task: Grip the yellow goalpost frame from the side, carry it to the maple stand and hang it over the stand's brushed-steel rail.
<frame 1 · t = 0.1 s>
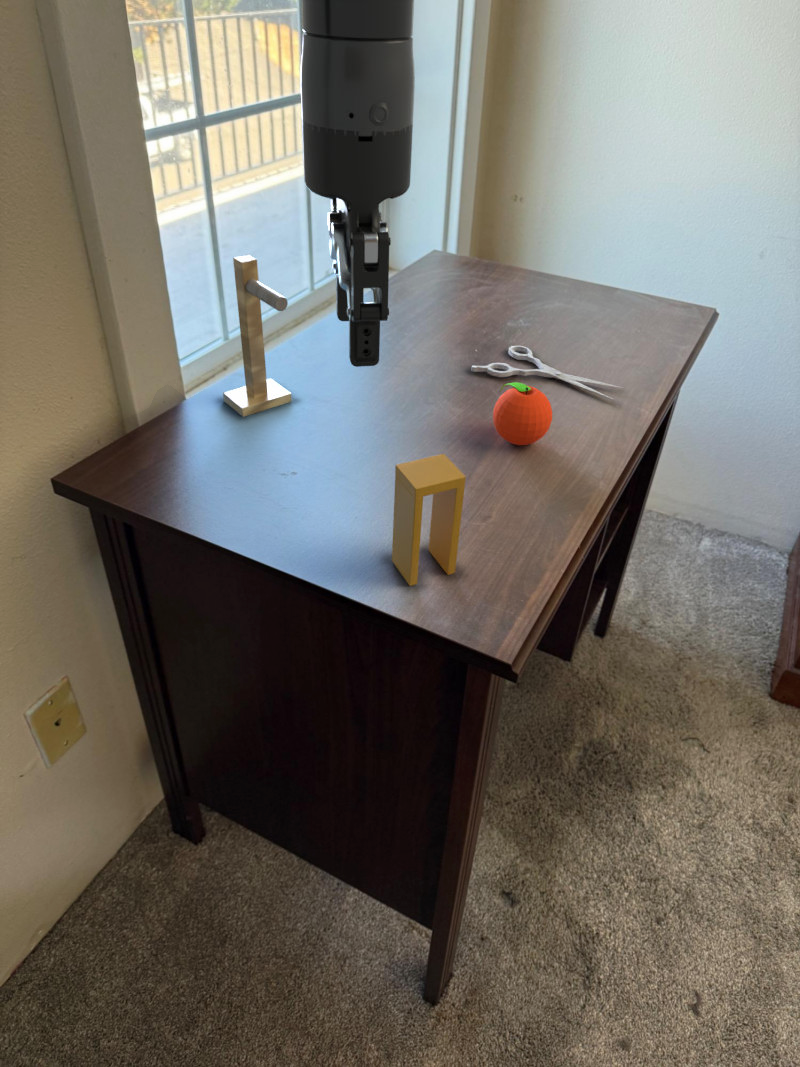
hand: (356, 340, 60), 21 cm above the table, tool pointing down, fingers open, 8 cm apart
rack: (276, 415, 92), on the table
scissors: (551, 378, 103), on the table
yellow goalpost frame: (423, 566, 71), on the table
clementine: (515, 440, 90), on the table
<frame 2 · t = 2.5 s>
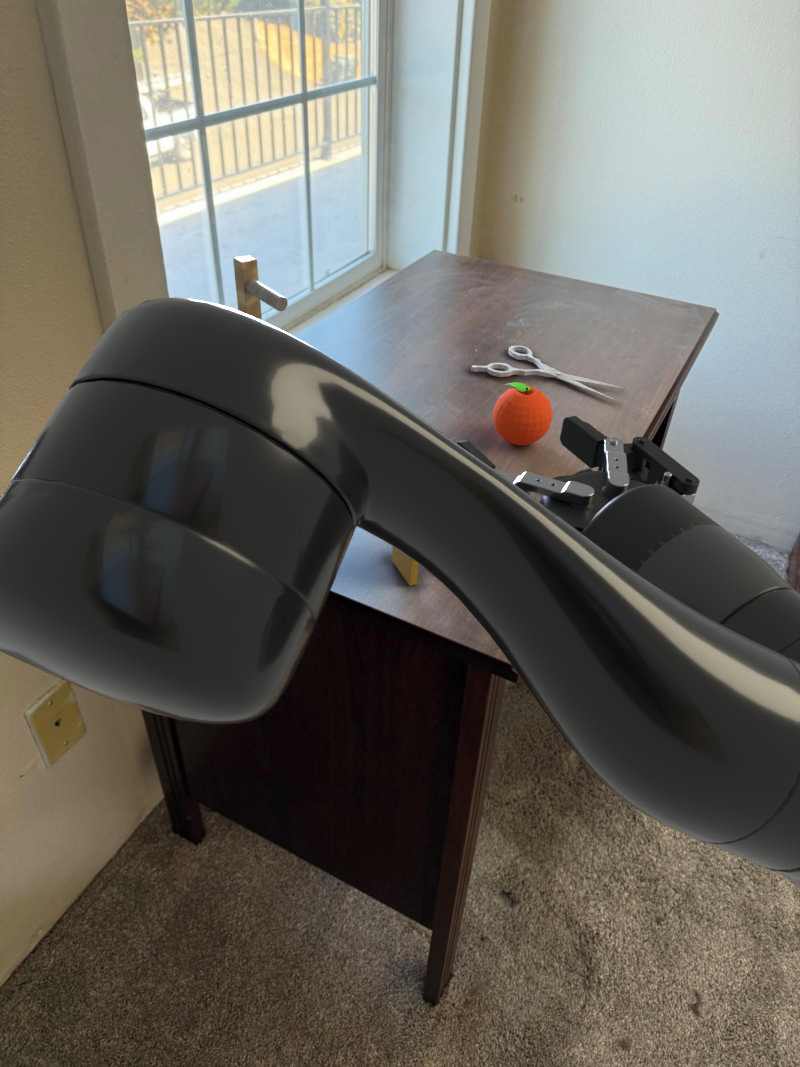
hand: (514, 440, 51), 20 cm above the table, tool horizontal, fingers open, 8 cm apart
nothing on the table moved.
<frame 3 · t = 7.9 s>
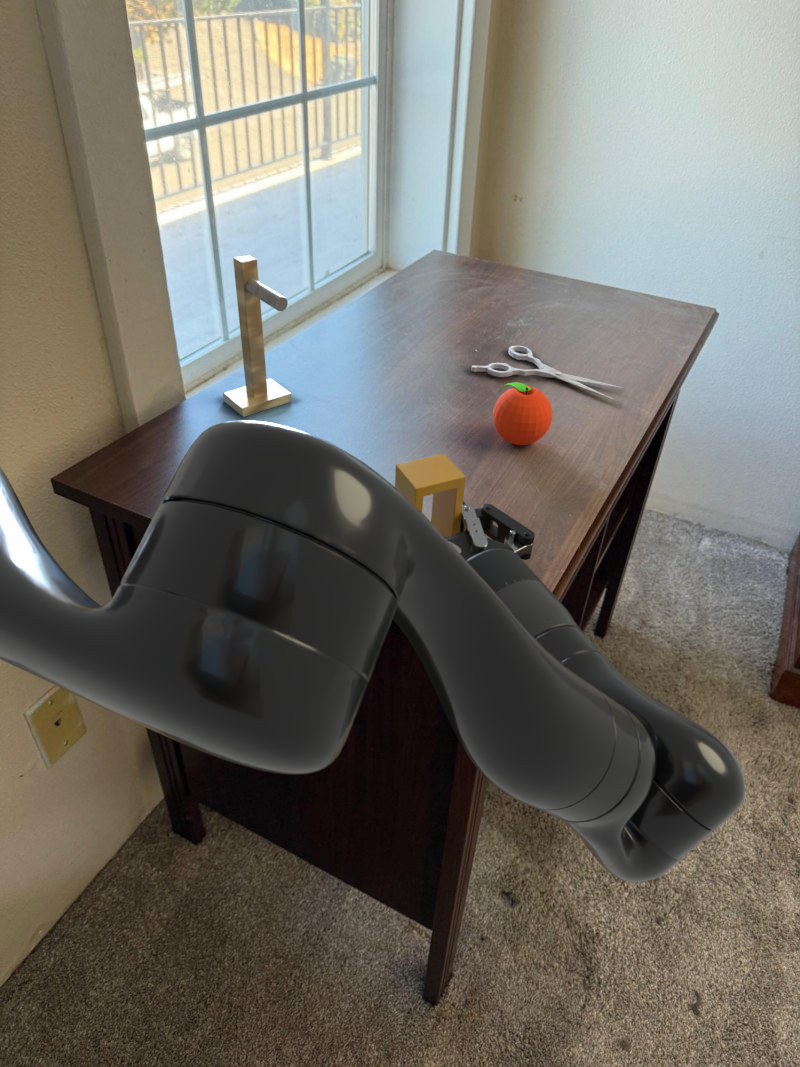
hand: (413, 500, 69), 6 cm above the table, tool horizontal, fingers closed on yellow goalpost frame, 4 cm apart
yellow goalpost frame: (423, 566, 71), on the table, touching gripper
everything else where it was.
when the fingers open (12 cm above the table, at t = 19.4 s): yellow goalpost frame stays where it is, resting on rack.
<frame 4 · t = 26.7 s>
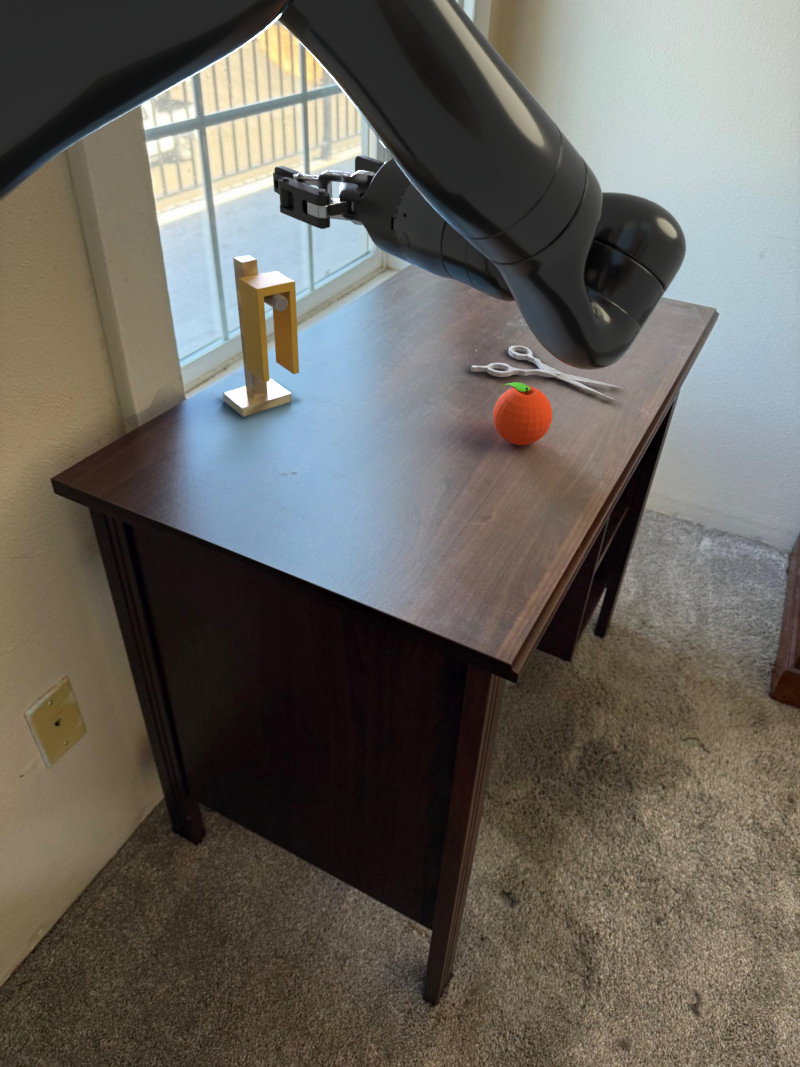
hand: (319, 173, 67), 30 cm above the table, tool horizontal, fingers open, 8 cm apart
yellow goalpost frame: (273, 371, 88), point 6 cm above the table, touching rack
everything else where it was.
at the end: yellow goalpost frame 0.0 cm off-centre on the rack, point 6.0 cm above the rack's base; yellow goalpost frame touching rack; the gripper is holding nothing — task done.
